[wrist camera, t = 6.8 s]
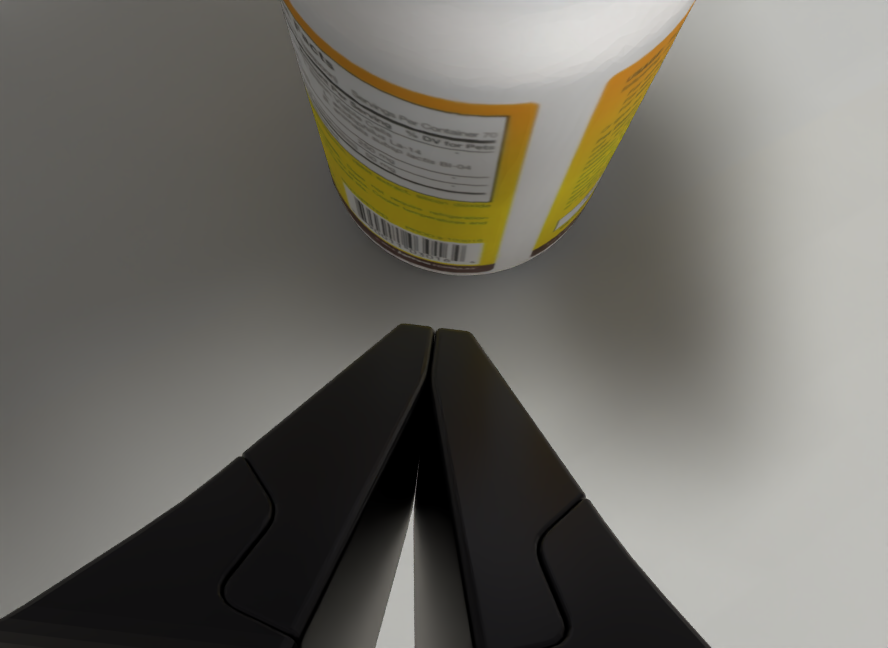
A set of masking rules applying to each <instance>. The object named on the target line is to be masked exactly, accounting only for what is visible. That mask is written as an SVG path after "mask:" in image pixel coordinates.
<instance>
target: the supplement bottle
mask: <svg viewBox="0 0 888 648" xmlns="http://www.w3.org/2000/svg"><path fill="white" fill-rule="evenodd" d="M695 1H696V0H280V2H281V6H282V9H283V13H284V16H285V19H286V23H287V26H288V30H289V33H290V37H291V40H292V44H293V47H294V50H295V54H296V57H297V61H298V65H299V68H300V72H301V75H302V79H303V82H304V85H305V89H306V92H307V95H308V98H309V101H310V104H311V108H312V111H313V114H314V117H315V121H316V124H317V128H318V131H319V135H320V138H321V141H322V145H323V148H324V151H325V155H326V158H327V161H328V165H329V169H330V172H331V176H332V179H333V182H334V185H335V187H336V189H337V191H338V194H339V196H340V198H341V200H342V202H343V204H344V206H345V208H346V209H347V211H348V212H349V214H350V216H351V217H352V219H353V220H354V221H355V223H356V224H357V225H358V226H359V228H360V229H361V230H362V231H363V232H364V233H365V234H366V235H367V236H368V237H369V238H370V239H371V240H372V241H374V242H375V243H376V244H377V245H378V246H380V247H381V248H382V249H384V250H385V251H386V252H388V253H389V254H391V255H393V256H394V257H396V258H398V259H400V260H402V261H404V262H406V263H408V264H410V265H413V266H415V267H418V268H421V269H424V270H428V271H432V272H437V273H442V274H447V275H481V274H489V273H494V272H499V271H503V270H506V269H510V268H512V267H515V266H518V265H520V264H522V263H524V262H527V261H529V260H531V259H533V258H534V257H536V256H538V255H539V254H541V253H542V252H544V251H545V250H547V249H548V248H550V247H551V246H552V245H553V244H554V243H556V242H557V241H558V240H559V239H560V238H561V237H562V236H563V235H564V234H565V233H566V232H567V231H568V230H569V228H570V227H571V226H572V225H573V223H574V222H575V221H576V220H577V218H578V217H579V215H580V214H581V212H582V211H583V209H584V207H585V206H586V204H587V203H588V201H589V199H590V197H591V196H592V194H593V192H594V190H595V188H596V186H597V184H598V182H599V181H600V179H601V177H602V175H603V173H604V171H605V169H606V167H607V165H608V163H609V161H610V159H611V158H612V156H613V154H614V152H615V150H616V148H617V146H618V145H619V143H620V141H621V139H622V137H623V135H624V134H625V132H626V130H627V128H628V127H629V124H630V122H631V120H632V118H633V116H634V114H635V113H636V111H637V109H638V107H639V105H640V103H641V101H642V100H643V98H644V96H645V94H646V92H647V90H648V88H649V86H650V84H651V83H652V81H653V79H654V77H655V75H656V73H657V72H658V70H659V68H660V66H661V64H662V62H663V60H664V58H665V56H666V55H667V53H668V51H669V49H670V48H671V46H672V44H673V42H674V40H675V38H676V36H677V34H678V32H679V30H680V28H681V26H682V25H683V23H684V21H685V19H686V17H687V15H688V13H689V12H690V10H691V8H692V6H693V4H694V2H695Z"/></svg>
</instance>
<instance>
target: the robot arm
mask: <svg viewBox="0 0 888 648" xmlns="http://www.w3.org/2000/svg"><path fill="white" fill-rule="evenodd" d="M434 336H435V338H434ZM418 466H419V467H418ZM417 473H418V476H417ZM416 481H417V484H416ZM415 489H416V493H415ZM414 496H415V504H414V528H413V530H414V630H415V648H711V647H710V646H709V645H708V643H707V642H706V641H705V640H704V639H703V638H702V637H701V636H700V635H699V633H698V632H697V631H696V630H695V629H694V628H693V627H692V626H691V625H690V623H689V622H688V621H687V620H686V619H685V618H684V617H683V616H682V615H681V613H680V612H679V611H678V610H677V609H676V608H675V607H674V606H673V605H672V603H671V602H670V601H669V600H668V599H667V598H666V597H665V596H664V594H663V593H662V592H661V591H660V590H659V589H658V587H657V586H656V585H655V584H654V583H653V582H652V580H651V579H650V578H649V577H648V576H647V575H646V573H645V572H644V571H643V570H642V569H641V568H640V566H639V565H638V564H637V563H636V562H635V561H634V559H633V558H632V557H631V556H630V554H629V553H628V552H627V550H626V549H625V548H624V546H623V545H622V544H621V543H620V541H619V540H618V539H617V537H616V536H615V535H614V533H613V532H612V531H611V529H610V528H609V527H608V525H607V524H606V523H605V521H604V520H603V519H602V517H601V516H600V514H599V513H598V511H597V510H596V509H595V507H594V506H593V504H592V503H591V501H590V500H589V499H586V496H585V493H584V492H583V491H582V489H581V488H580V486H579V485H578V484H577V482H576V481H575V479H574V478H573V476H572V475H571V474H570V472H569V471H568V469H567V468H566V466H565V465H564V464H563V462H562V461H561V459H560V458H559V457H558V455H557V454H556V452H555V451H554V449H553V448H552V447H551V445H550V444H549V442H548V441H547V440H546V438H545V437H544V435H543V434H542V432H541V431H540V430H539V428H538V427H537V425H536V424H535V422H534V421H533V420H532V418H531V417H530V415H529V414H528V413H527V411H526V410H525V408H524V407H523V405H522V404H521V403H520V401H519V400H518V398H517V397H516V396H515V394H514V393H513V391H512V390H511V388H510V387H509V386H508V384H507V383H506V381H505V380H504V378H503V377H502V376H501V374H500V373H499V371H498V370H497V369H496V367H495V366H494V364H493V363H492V361H491V360H490V359H489V357H488V356H487V354H486V353H485V351H484V350H483V349H482V347H481V346H480V344H479V343H478V342H477V340H476V339H475V337H474V336H473V335H472V334H471V333H470V332H468V331H462V330H454V329H445V328H440V329H438V330H437V331H436V333H435V332H434V330H433V329H432V328H431V327H429V326H421V325H413V324H400V325H398V326H397V327H396V328H394V329H393V330H392V331H391V332H389V333H388V334H387V335H386V336H385V337H383V338H382V339H381V340H380V341H379V342H377V343H376V344H375V345H374V346H372V347H371V348H370V349H369V350H368V351H366V352H365V353H364V354H363V355H362V356H360V357H359V358H358V359H357V360H355V361H354V362H353V363H352V364H351V365H349V366H348V367H347V368H346V369H345V370H343V371H342V372H341V373H340V374H338V375H337V376H336V377H335V378H334V379H332V380H331V381H330V382H329V383H327V384H326V385H325V386H324V387H323V388H321V389H320V390H319V391H318V392H317V393H315V394H314V395H313V396H312V397H310V398H309V399H308V400H307V401H306V402H304V403H303V404H302V405H301V406H300V407H298V408H297V409H296V410H295V411H293V412H292V413H291V414H290V415H289V416H287V417H286V418H285V419H284V420H282V421H281V422H280V423H279V424H278V425H276V426H275V427H274V428H273V429H272V430H270V431H269V432H268V433H267V434H265V435H264V436H263V437H262V438H261V439H259V440H258V441H257V442H256V443H255V444H253V445H252V446H251V447H250V448H248V449H247V450H246V451H245V452H244V453H243V454H242V456H239V457H237V458H236V459H235V460H233V461H232V462H231V463H230V464H229V465H227V466H226V467H225V468H224V469H222V470H221V471H220V472H219V473H218V474H216V475H215V476H214V477H212V478H211V479H210V480H209V481H207V482H206V483H205V484H203V485H202V486H201V487H199V488H198V489H197V490H196V491H194V492H193V493H192V494H190V495H189V496H188V497H186V498H185V499H184V500H183V501H181V502H180V503H178V504H177V505H175V506H174V507H172V508H171V509H170V510H168V511H167V512H165V513H164V514H162V515H161V516H159V517H158V518H156V519H155V520H153V521H152V522H151V523H149V524H148V525H146V526H145V527H143V528H142V529H140V530H139V531H137V532H136V533H134V534H133V535H131V536H130V537H128V538H127V539H125V540H123V541H122V542H120V543H119V544H117V545H116V546H114V547H113V548H111V549H110V550H108V551H106V552H105V553H103V554H102V555H100V556H99V557H97V558H96V559H94V560H93V561H91V562H89V563H88V564H86V565H85V566H83V567H82V568H80V569H79V570H77V571H76V572H74V573H72V574H71V575H69V576H68V577H66V578H65V579H63V580H62V581H60V582H59V583H57V584H55V585H54V586H52V587H51V588H49V589H48V590H46V591H45V592H43V593H42V594H40V595H38V596H37V597H35V598H34V599H32V600H31V601H29V602H28V603H26V604H25V605H23V606H21V607H20V608H18V609H16V610H15V611H13V612H11V613H9V614H8V615H6V616H4V617H3V618H1V619H0V648H375V647H376V643H377V639H378V636H379V632H380V628H381V625H382V621H383V617H384V614H385V610H386V606H387V603H388V599H389V595H390V592H391V588H392V584H393V581H394V577H395V573H396V570H397V566H398V562H399V559H400V555H401V551H402V548H403V544H404V540H405V537H406V533H407V529H408V525H409V521H410V517H411V513H412V508H413V502H414Z"/></svg>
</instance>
